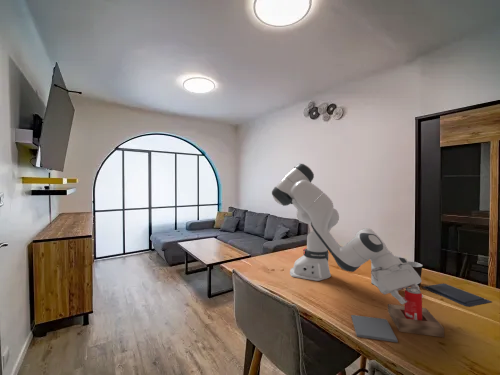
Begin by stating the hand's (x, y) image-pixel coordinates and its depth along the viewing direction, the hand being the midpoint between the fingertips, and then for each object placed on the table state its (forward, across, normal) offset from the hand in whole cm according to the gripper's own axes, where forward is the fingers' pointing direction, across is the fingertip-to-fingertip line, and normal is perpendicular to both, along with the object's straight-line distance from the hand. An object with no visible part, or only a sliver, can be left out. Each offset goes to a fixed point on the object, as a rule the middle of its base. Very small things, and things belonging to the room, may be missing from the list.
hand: (412, 300), depth 85 cm
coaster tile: (+3, -16, +9) cm, 18 cm away
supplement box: (-12, +19, +24) cm, 34 cm away
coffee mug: (-10, +36, +22) cm, 43 cm away
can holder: (+6, 0, +6) cm, 8 cm away
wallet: (+2, +40, +11) cm, 42 cm away
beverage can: (+6, 0, +6) cm, 9 cm away
